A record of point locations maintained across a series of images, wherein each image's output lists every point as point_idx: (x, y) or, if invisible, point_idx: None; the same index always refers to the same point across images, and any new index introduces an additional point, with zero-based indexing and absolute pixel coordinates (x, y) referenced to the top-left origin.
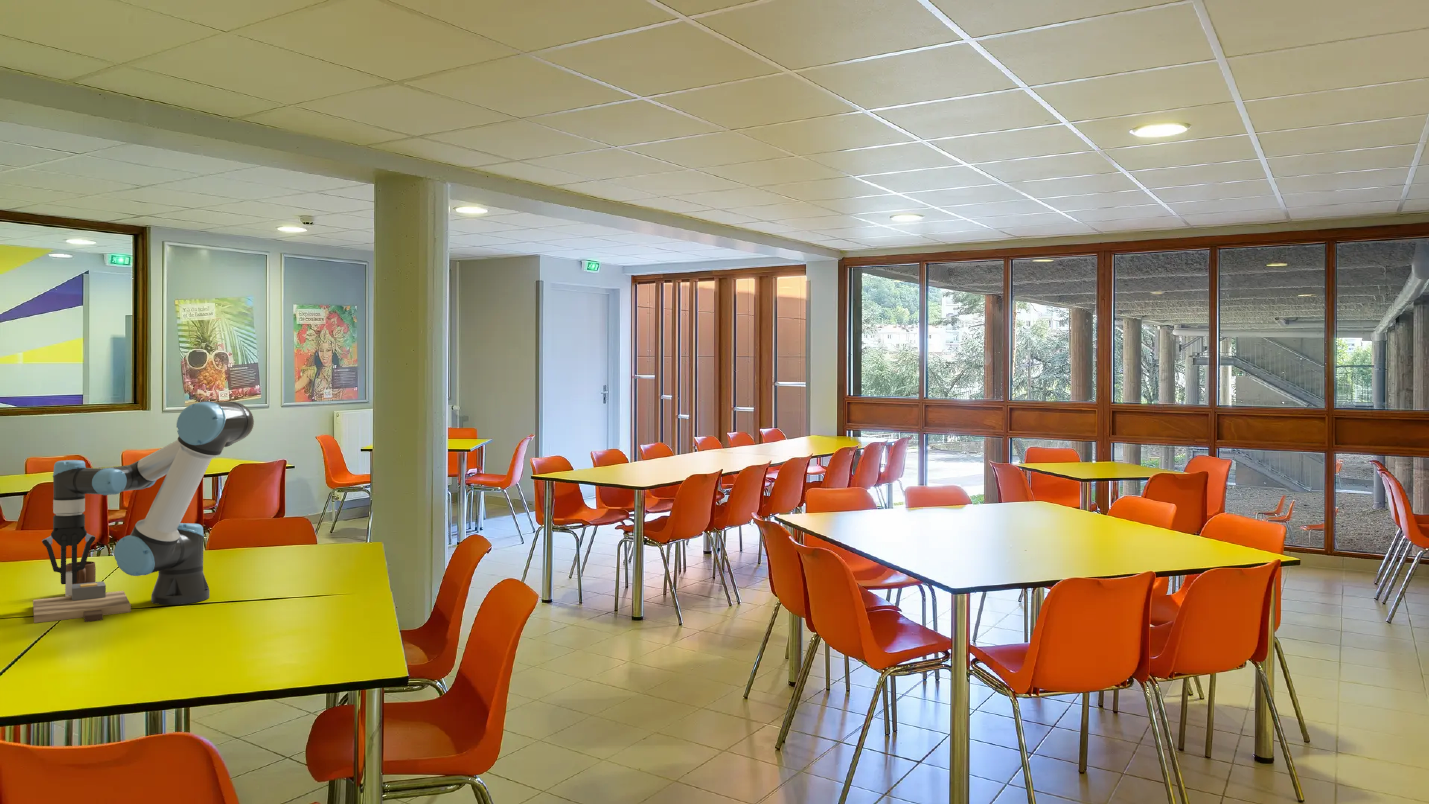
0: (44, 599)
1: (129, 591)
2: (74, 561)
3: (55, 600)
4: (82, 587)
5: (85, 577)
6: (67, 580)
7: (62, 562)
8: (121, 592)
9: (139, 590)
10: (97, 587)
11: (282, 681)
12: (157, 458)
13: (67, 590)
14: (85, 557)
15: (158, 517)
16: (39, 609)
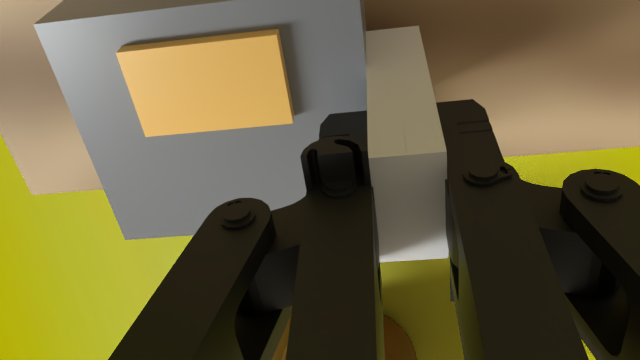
0: (572, 121)
1: (80, 310)
2: (333, 292)
3: (497, 36)
4: (258, 13)
5: (283, 354)
6: (417, 105)
7: (533, 282)
8: (22, 138)
9: (29, 312)
10: (115, 10)
11: None
12: None
13: (407, 49)
14: (145, 351)
15: None
16: None
